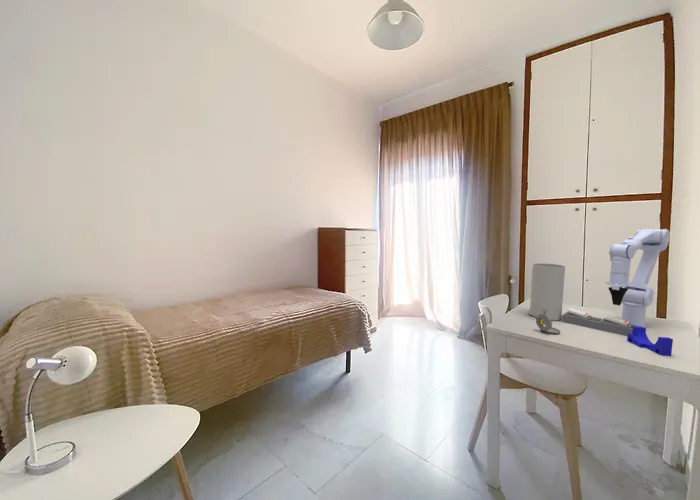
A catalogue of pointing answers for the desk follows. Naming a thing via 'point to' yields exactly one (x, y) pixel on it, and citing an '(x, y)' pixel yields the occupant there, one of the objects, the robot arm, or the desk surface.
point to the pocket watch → (546, 323)
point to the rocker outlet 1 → (578, 313)
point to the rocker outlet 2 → (616, 320)
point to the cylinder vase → (547, 290)
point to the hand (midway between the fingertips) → (616, 304)
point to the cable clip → (642, 341)
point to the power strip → (598, 324)
